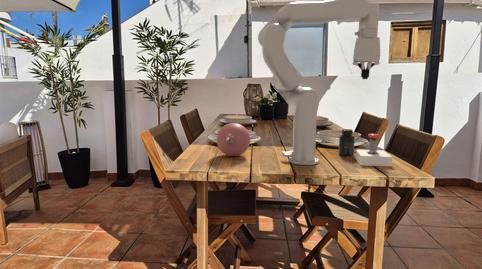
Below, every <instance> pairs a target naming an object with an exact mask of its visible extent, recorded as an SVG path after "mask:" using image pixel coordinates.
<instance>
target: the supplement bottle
mask: <svg viewBox="0 0 482 269" xmlns="http://www.w3.org/2000/svg"><path fill="white" fill-rule="evenodd" d="M353 134H354V132H353V129H350V128H343V129H341V134H340V136H339V138H338V155H339V156H342V157H353V156H355V139H356V138H355V136H354V135H353Z"/></svg>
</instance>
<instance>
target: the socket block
mask: <svg viewBox="0 0 482 269" xmlns="http://www.w3.org/2000/svg"><path fill="white" fill-rule="evenodd" d="M354 158H355V160H356V161H357V163H358V164H359V165H360V166H366V167H367V166H368V167H369V166H373V167H391V168H392V165H393V164H392V163H393V156H391V155H390V154H389V153H388V152H386V151H385V150H379V149H377V154H369V149H355V150H354Z"/></svg>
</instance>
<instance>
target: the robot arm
mask: <svg viewBox="0 0 482 269" xmlns="http://www.w3.org/2000/svg"><path fill="white" fill-rule="evenodd" d="M379 15H380V4H379V3H377V2H373V1H372V2H370V1H368V0H323V1H321V0H320V1H294V2H289V3H287V4H285V5H283V6H282V7H281V8H279V9H278V11H277V12H275V14H273V16H272V18H271V19H270V20H268V22H267V23H266V24H265V25H264V26H263V27H261V29H260V30H259V33H258V37H257V41H258V43H259V45H260V46H261V47H262V49H261V50H262V52H261V53H262V58H263V60H264V63H265V64H266V66H267V68H268V69H269V71H270V72H271V73H272V83H273V86H274V88H275V89H276V91H277V92H278V93H279V95H280V96H281V97H282V98H283V99H284V101H285V102H286V103H287V104H288V106H290V107H291V108H293V109H295V110H294V114H293V119H292V120H293V121H292V122H293V123H292V124H293V125H292V127H293V128H292V149H291V150H289V151H281V156H282V157H285V158H288V157H289V158H288V162H289V163H290V164H294V165H299V166H313V165H317V164H318V163H319V162H320V160H319V158H317V157H316V145H317V144H316V142H317V119H318V118H317V116H318V110H319V107H320V97H319V93H318V92H317V91H316V90H315V89H314V88H311V87H306V86H304V87H303V86H302V85H301V84H302V83H303V80H302V75H301V73H300V71H298V69H297V68H296V67H295V65H294V64H293V63H292V62H291V60H290V59H289V57H288V56H287V54H286V52H285V49H284V42H285V39H286V33H287V32H288V31H289V29H290V28H292V27H294V26H305V25H307V26H308V25H323V24H327V23H331V22H334V21H340V20H341V21H342V22H344V23H347V24H349V23H356V22H358V31H355V32H354V36H356V40H355V43H354V49H353V56H352V57H353V58H352V59H353V61H352V65H353V66H357V67H358V68H359V69H360V70H361V72H360V73H361V74H360V77H361V79H362V80H368V78H369V77H370V70H371V69H372V68H373V67H374V66H378V65H380V63H381V62H380V59H381V39H380V37H378V31H379V30H378V29H379V20H380V19H379V17H380V16H379ZM365 63H366V64H365Z"/></svg>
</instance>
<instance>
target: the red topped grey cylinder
mask: <svg viewBox="0 0 482 269" xmlns="http://www.w3.org/2000/svg"><path fill="white" fill-rule="evenodd" d="M380 137H381V135H380V134H378V133H368V134H367V138H369V144H368V145H369V146H368V150H369V154H377V150H378V139H379V138H380Z"/></svg>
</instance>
